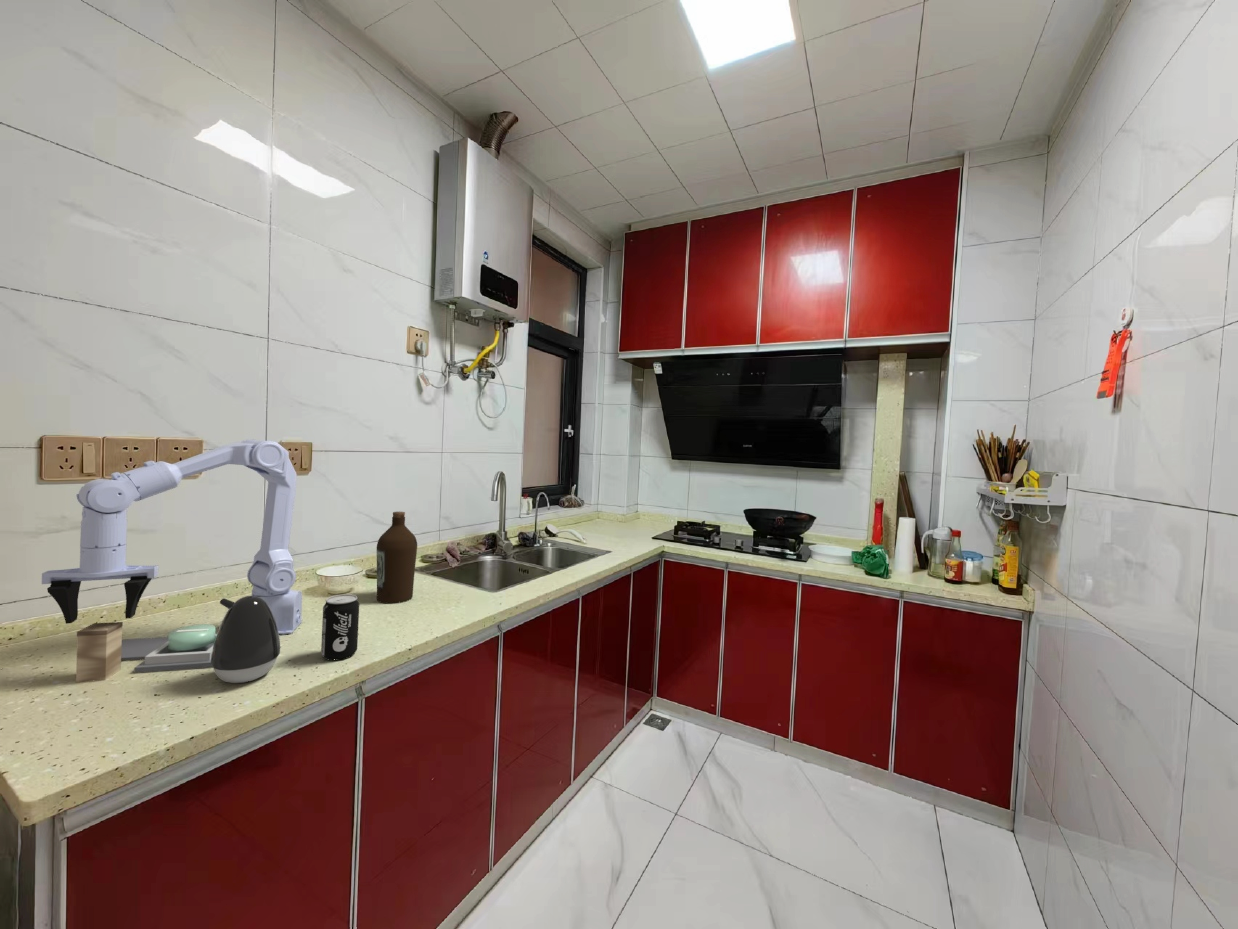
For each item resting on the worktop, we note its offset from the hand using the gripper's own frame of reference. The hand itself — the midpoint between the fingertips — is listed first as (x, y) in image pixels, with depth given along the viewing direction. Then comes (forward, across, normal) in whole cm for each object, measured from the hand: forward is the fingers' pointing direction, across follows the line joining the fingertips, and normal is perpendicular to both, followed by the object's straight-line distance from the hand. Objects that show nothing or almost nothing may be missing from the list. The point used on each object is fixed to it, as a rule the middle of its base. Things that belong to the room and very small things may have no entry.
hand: (101, 619), depth 87 cm
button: (+7, -12, -2) cm, 14 cm away
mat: (+10, -2, -10) cm, 14 cm away
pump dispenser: (+10, -23, +11) cm, 27 cm away
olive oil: (+10, -51, -29) cm, 59 cm away
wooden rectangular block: (+10, 0, +1) cm, 10 cm away
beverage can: (+10, -38, +6) cm, 40 cm away
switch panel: (+10, -12, -2) cm, 16 cm away
